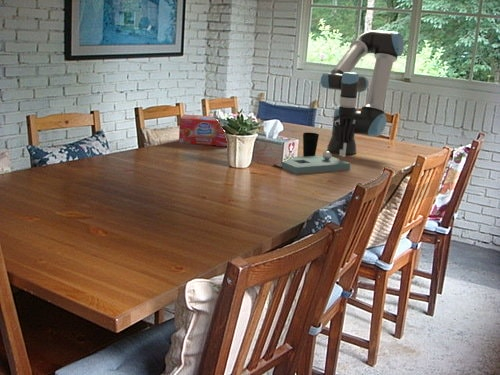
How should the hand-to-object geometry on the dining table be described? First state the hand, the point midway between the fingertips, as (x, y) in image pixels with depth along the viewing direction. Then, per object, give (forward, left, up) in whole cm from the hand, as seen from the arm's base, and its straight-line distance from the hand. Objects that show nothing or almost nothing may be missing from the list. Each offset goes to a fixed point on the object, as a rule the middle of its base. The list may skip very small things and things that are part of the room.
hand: (342, 156), depth 303 cm
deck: (+17, 0, -4) cm, 17 cm away
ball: (+9, 0, +1) cm, 9 cm away
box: (+41, -62, -5) cm, 75 cm away
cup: (+7, -17, -5) cm, 19 cm away
